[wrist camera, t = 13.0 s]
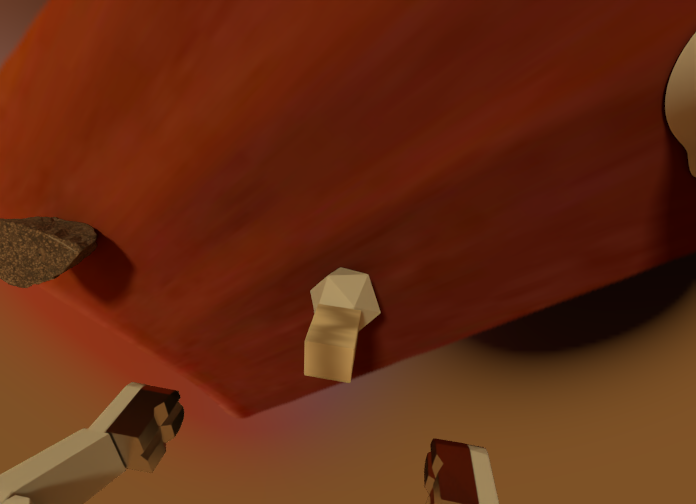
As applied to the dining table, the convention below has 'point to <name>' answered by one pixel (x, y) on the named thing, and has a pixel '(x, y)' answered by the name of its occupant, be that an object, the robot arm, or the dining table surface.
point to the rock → (42, 248)
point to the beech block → (332, 343)
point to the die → (347, 293)
